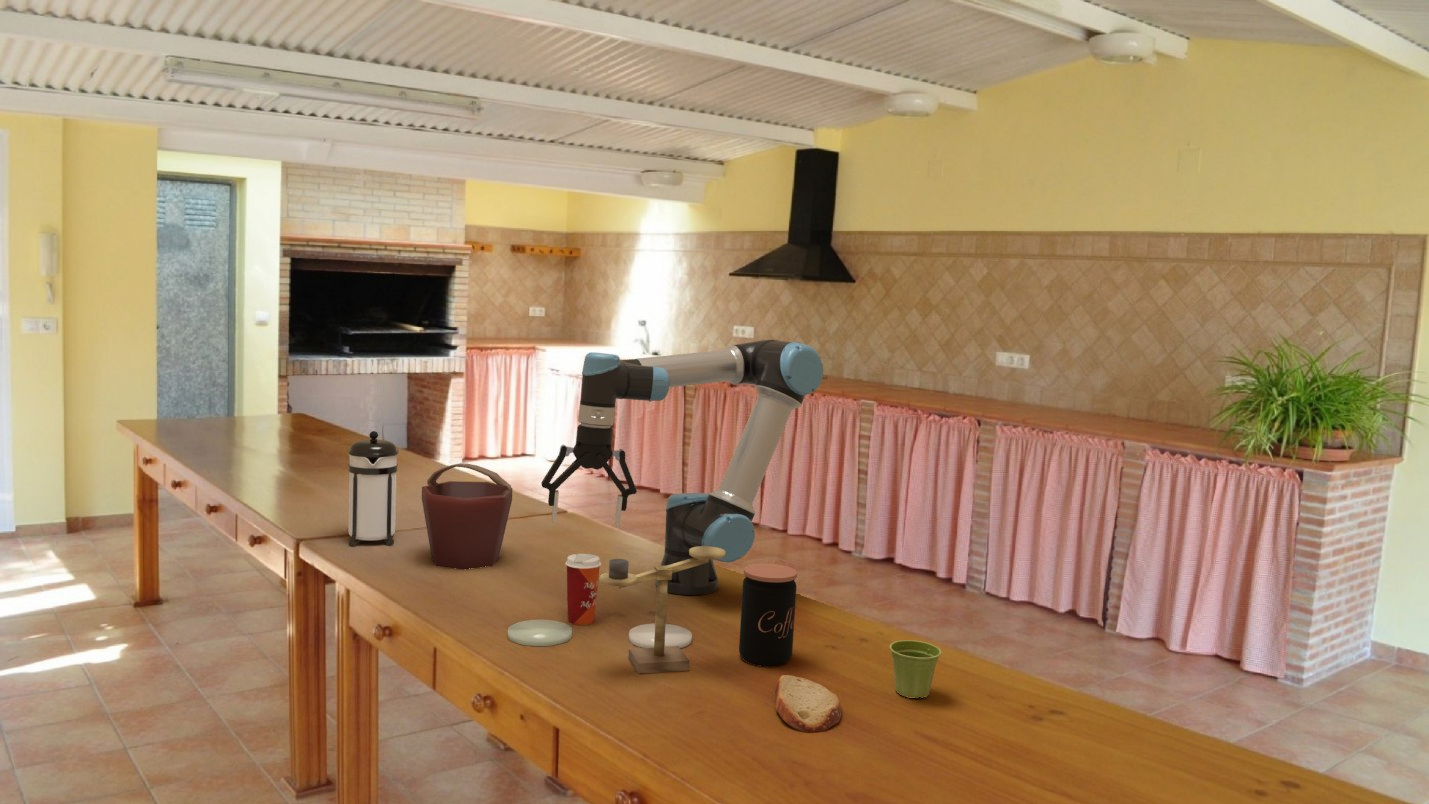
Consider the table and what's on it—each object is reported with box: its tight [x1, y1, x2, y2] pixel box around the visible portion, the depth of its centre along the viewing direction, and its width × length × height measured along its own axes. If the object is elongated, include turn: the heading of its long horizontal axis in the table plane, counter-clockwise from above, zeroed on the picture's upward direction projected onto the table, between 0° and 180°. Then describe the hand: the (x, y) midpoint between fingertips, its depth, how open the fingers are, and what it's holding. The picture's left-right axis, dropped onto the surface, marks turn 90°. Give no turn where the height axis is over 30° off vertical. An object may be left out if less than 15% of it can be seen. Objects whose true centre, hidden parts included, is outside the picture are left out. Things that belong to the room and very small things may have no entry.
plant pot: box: [889, 639, 942, 699], centre depth 193 cm, size 9×9×9 cm
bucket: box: [421, 462, 513, 571], centre depth 266 cm, size 24×22×25 cm
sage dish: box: [507, 619, 573, 647], centre depth 214 cm, size 13×13×1 cm
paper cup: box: [564, 553, 602, 626], centre depth 224 cm, size 8×8×14 cm
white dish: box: [628, 623, 693, 649], centre depth 216 cm, size 13×13×1 cm
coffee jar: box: [738, 562, 798, 668], centre depth 207 cm, size 11×11×18 cm
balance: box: [599, 546, 726, 675], centre depth 200 cm, size 24×8×22 cm, turn 108°
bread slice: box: [774, 674, 842, 734], centre depth 185 cm, size 18×18×4 cm
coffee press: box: [347, 430, 399, 547], centre depth 281 cm, size 17×16×30 cm
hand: (585, 523), depth 224 cm, fingers open, 13 cm apart
